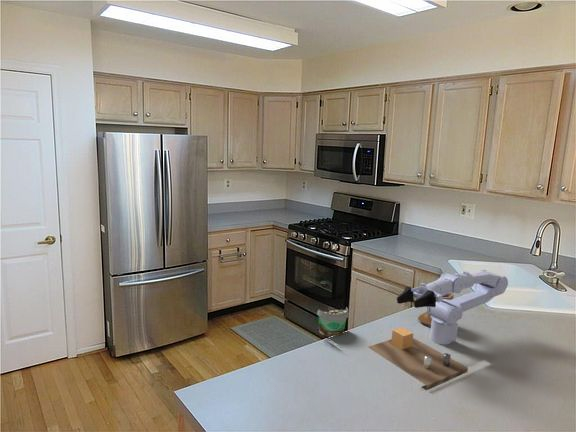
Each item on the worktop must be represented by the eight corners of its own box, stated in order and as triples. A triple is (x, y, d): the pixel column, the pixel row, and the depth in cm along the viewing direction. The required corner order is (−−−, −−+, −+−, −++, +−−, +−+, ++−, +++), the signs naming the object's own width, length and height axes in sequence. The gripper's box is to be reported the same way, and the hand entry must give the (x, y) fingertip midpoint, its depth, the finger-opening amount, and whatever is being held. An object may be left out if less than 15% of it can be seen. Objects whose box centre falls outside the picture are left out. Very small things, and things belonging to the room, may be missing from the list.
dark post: (444, 366, 127) (446, 352, 126) (450, 369, 126) (451, 355, 125) (440, 368, 126) (442, 354, 125) (446, 371, 125) (448, 357, 124)
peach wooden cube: (400, 339, 141) (402, 327, 140) (411, 346, 137) (413, 333, 136) (391, 343, 138) (392, 330, 137) (402, 349, 134) (403, 336, 133)
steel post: (425, 369, 125) (427, 355, 124) (430, 372, 124) (432, 358, 123) (421, 371, 124) (423, 356, 123) (426, 374, 122) (428, 359, 122)
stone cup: (440, 333, 151) (444, 296, 148) (413, 321, 160) (417, 287, 157) (459, 323, 160) (463, 289, 158) (433, 313, 169) (437, 280, 167)
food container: (321, 342, 139) (322, 316, 138) (315, 334, 145) (317, 309, 143) (352, 339, 143) (354, 313, 141) (345, 331, 149) (347, 306, 147)
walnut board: (406, 338, 146) (406, 334, 145) (467, 372, 125) (467, 367, 125) (367, 350, 135) (367, 346, 135) (426, 390, 114) (427, 385, 114)
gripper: (416, 277, 142) (388, 287, 135) (449, 282, 129) (420, 294, 123) (419, 295, 142) (392, 307, 136) (453, 302, 129) (424, 315, 123)
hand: (406, 302), depth 129 cm, fingers open, 7 cm apart
